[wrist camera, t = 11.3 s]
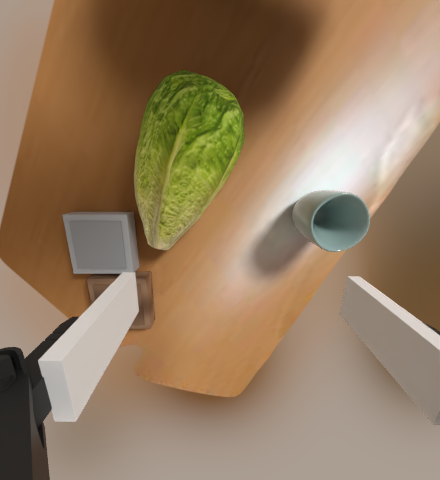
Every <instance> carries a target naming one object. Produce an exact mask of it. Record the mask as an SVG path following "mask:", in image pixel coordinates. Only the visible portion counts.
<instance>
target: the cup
mask: <svg viewBox="0 0 440 480" xmlns="http://www.w3.org/2000/svg"><path fill="white" fill-rule="evenodd" d="M292 217H293V222H294V224H295V226H296V228H297V229H298V231H299V232H300V233H301V234H302V235H303V236H304V237H305V238H307V239H308V240H309V241H311V242H312V243H313V244H315V245H316V246H318V247H320V248H321V249H324V250H326V251H330V252H339V251H343V250H346V249H349V248H351V247H352V246H354V245H356V244H357V243H358V242H360V241H361V240H362V238H363V237H364V236H365V235H366V233H367V231H368V228H369V224H370V215H369V211H368V208H367V206H366V204H365V203H364V201H363V200H362V199H361V198H359V197H358V196H357V195H354V194H352V193H348V192H342V191H332V190H322V191H315V192H311V193H309V194H306V195H305V196H303V197H301V198H300V199H299V200H298V201H297V202H296V204H295V205H294V207H293V211H292Z"/></svg>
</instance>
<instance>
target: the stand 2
mask: <svg viewBox="0 0 440 480" xmlns="http://www.w3.org/2000/svg"><path fill="white" fill-rule="evenodd" d="M119 275H120V274H92V275H91V276H90V277H89V278H87V284H88V289H89V295H90V301H91V305H92V304H93V303H94V302H95V301H96V299H97V298H98V297H99V296H100V295H101V294H102V293H103V292H104V291H105V290H106V289H107V288H108V287H109V286H110V285H111V284H112V283H113V282H114V281H115V280H116V279H117V278H118V277H119ZM135 276H136V286H137V296H138V307H139V312H138V314H137V316H136V317H135V319H134V321H133V323H132V324H131V326H130V328H129V329H151V327H152V325H153V322H154V320H155V312H154V301H153V289H152V278H151V272H135Z"/></svg>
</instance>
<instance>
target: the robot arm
mask: <svg viewBox="0 0 440 480" xmlns="http://www.w3.org/2000/svg"><path fill="white" fill-rule="evenodd" d="M138 312H139V307H138V296H137V286H136V276H135V272H122V273H121V274H120V275H119V277H118V278H117V279H116V280H115V281H114V282H113V283H112V284H111V285H110V286H109V287H108V288H107V289H106V290H105V291H104V292H103V293H102V294H101V295H100V296H99V297H98V298H97V299H96V301H95V302H94V303H93V304H92V305H91V306H90V307H89V308H88V309H87V310H86V311H85V312H84V313H83V314H82V315H81V316H80V317H72V318H70V319H68V320H67V321H65V322H64V323H62V324H60V325H59V327H58V328H56V329H55V330H54V331H53V333H52V334H50V335H49V336H48V337H47V338H46V339H45V341H43V342H42V343H41V344H40V345H39V346H38V347H37V348H36V349H35V350H33V351H32V353H30V354H29V355H28V356H27V357H26V358H25V359H24V355H23V352H22V350H21V349H20V348H17V347H8V348H3V349H0V480H50V478H49V469H48V457H47V447H46V437H45V427H44V423H43V421H44V419H45V418H46V416H47V415H48V414H49V412H50V411H51V410H52V414H53V418H54V421H64V422H66V421H67V422H69V421H70V422H76V420H77V418H78V417H79V415H80V413H81V412H82V410H83V408H84V407H85V405H86V403H87V401H88V400H89V398H90V396H91V394H92V392H93V390H94V389H95V387H96V385H97V384H98V382H99V380H100V378H101V377H102V375H103V373H104V372H105V370H106V368H107V366H108V365H109V362H110V361H111V359H112V358H113V356H114V354H115V352H116V351H117V349H118V347H119V345H120V344H121V342H122V340H123V338H124V337H125V335H126V333H127V331H128V330H129V328H130V326H131V324H132V323H133V321H134V319H135V317H136V316H137V314H138ZM340 316H341V317H342V318H343V319H344V320H345V322H346V323H347V324H348V325H349V326H350V327H351V329H352V330H353V331H354V332H355V333H356V334H357V336H358V337H359V338H360V339H361V340H362V341H363V343H364V344H365V345H366V346H367V347H368V348H369V349H370V351H371V352H372V353H373V354H374V355H375V356H376V358H377V359H378V360H379V361H380V362H381V363H382V365H383V366H384V367H385V368H386V369H387V370H388V372H389V373H390V374H391V375H392V376H393V378H394V379H395V380H396V381H397V382H398V383H399V385H400V386H401V387H402V388H403V389H404V390H405V391H406V393H407V394H408V395H409V396H410V397H411V399H412V400H413V401H414V402H415V403H416V404H417V406H418V407H419V408H420V409H421V410H422V412H423V413H424V414H425V415H426V416H427V417H428V418H429V420H430V421H431V422H432V423H433V424H435V425H440V332H439V331H438V330H436V329H435V328H433V327H431V326H429V325H427V324H425V323H423V322H421V321H420V320H418V319H417V318H415V317H414V316H413V315H411V314H410V313H409V312H407V311H406V310H405V309H403V308H402V307H400V306H399V305H398V304H396V303H395V302H393V301H392V300H391V299H389V298H388V297H387V296H385V295H384V294H383V293H381V292H380V291H378V290H377V289H376V288H374V287H373V286H372V285H370V284H369V283H368V282H366V281H365V280H364V279H362V278H361V277H358V276H348V277H347V281H346V285H345V290H344V295H343V300H342V305H341V309H340Z"/></svg>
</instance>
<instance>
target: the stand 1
mask: <svg viewBox="0 0 440 480" xmlns="http://www.w3.org/2000/svg"><path fill="white" fill-rule="evenodd" d="M62 216H63V221H64V226H65V231H66V236H67V241H68V247H69V252H70V257H71V262H72V267H73V272H74V274H121V273H122V272H135V271H136V270H137V269H138V268H139V258H138V248H137V238H136V229H135V219H134V212H71V213H67V214H63V215H62Z"/></svg>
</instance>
